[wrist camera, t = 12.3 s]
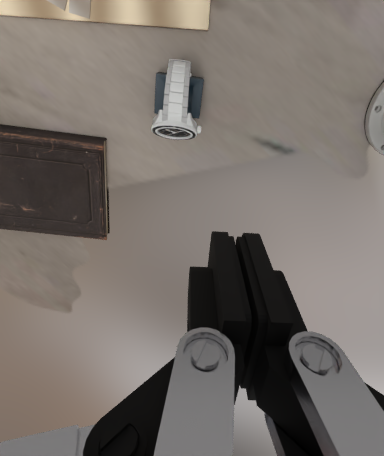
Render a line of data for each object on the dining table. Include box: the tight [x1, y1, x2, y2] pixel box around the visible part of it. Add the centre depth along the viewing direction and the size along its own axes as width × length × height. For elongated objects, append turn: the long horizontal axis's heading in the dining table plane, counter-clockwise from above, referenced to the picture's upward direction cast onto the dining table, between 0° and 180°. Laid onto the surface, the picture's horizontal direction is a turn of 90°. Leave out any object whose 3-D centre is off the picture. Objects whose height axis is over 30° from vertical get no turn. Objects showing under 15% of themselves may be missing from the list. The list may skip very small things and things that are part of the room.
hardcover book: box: [0, 125, 110, 240], centre depth 43 cm, size 16×23×2 cm
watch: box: [151, 59, 204, 140], centre depth 32 cm, size 6×8×11 cm
